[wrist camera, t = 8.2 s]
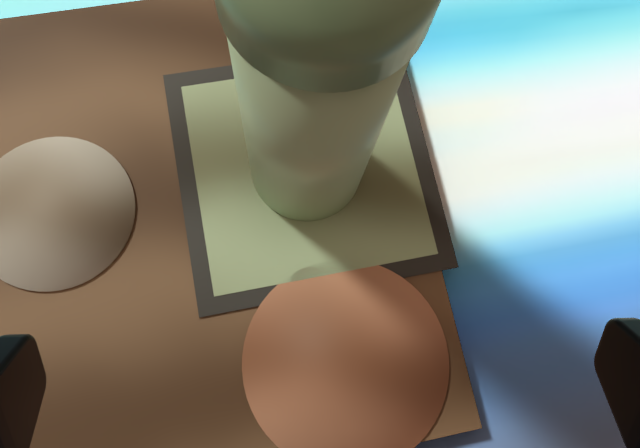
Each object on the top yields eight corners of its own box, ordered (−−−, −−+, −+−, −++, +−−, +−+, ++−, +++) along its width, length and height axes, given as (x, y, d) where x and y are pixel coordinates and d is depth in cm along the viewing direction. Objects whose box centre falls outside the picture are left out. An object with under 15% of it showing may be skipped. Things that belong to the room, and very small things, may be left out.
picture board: (496, 437, 19) (504, 440, 19) (-9, 554, 17) (-21, 562, 17) (376, -22, 24) (379, -33, 23) (-38, 34, 22) (-48, 23, 21)
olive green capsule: (374, 212, 20) (496, 8, 9) (259, 233, 20) (222, 49, 8) (349, 106, 21) (428, -207, 10) (239, 125, 21) (180, -181, 9)
